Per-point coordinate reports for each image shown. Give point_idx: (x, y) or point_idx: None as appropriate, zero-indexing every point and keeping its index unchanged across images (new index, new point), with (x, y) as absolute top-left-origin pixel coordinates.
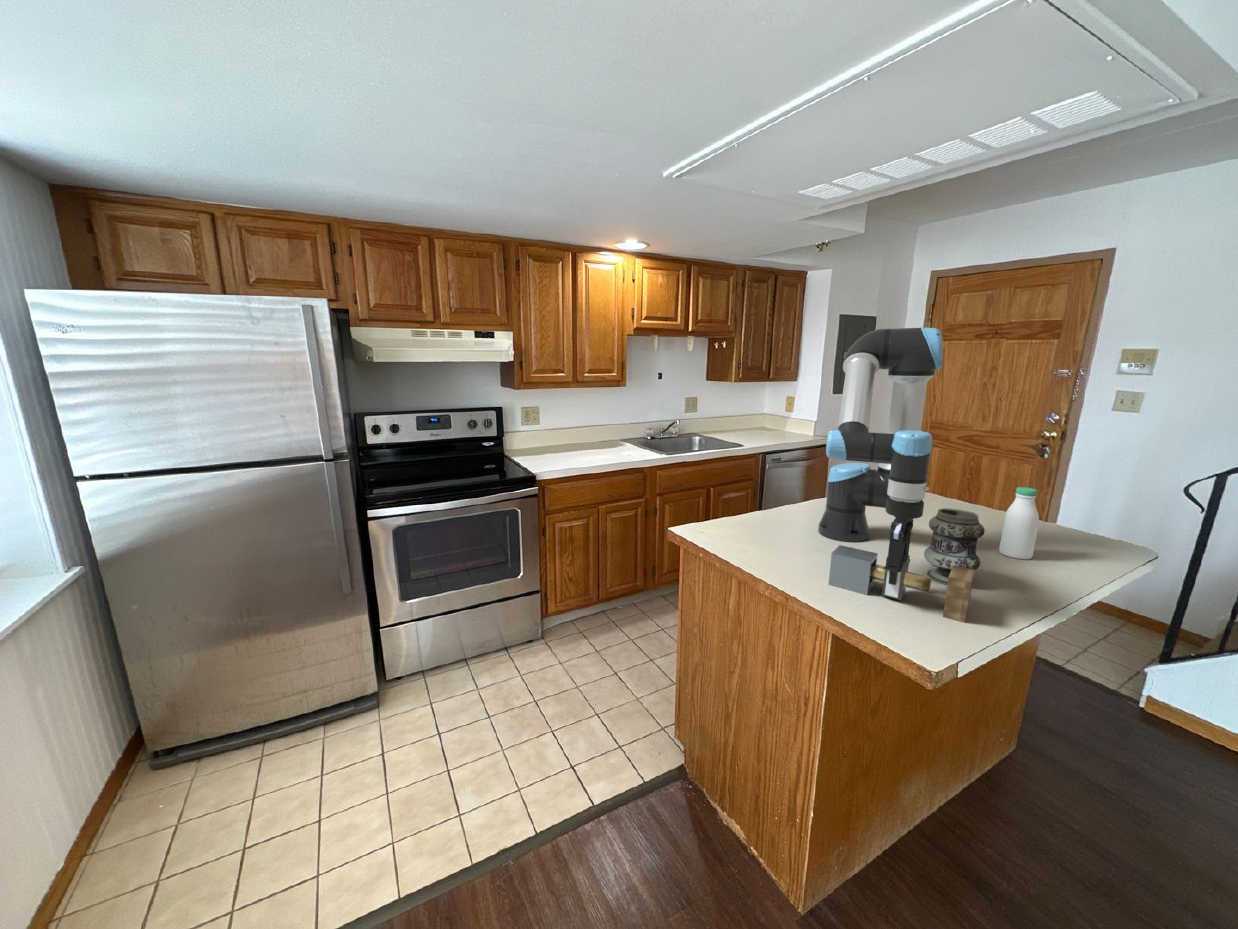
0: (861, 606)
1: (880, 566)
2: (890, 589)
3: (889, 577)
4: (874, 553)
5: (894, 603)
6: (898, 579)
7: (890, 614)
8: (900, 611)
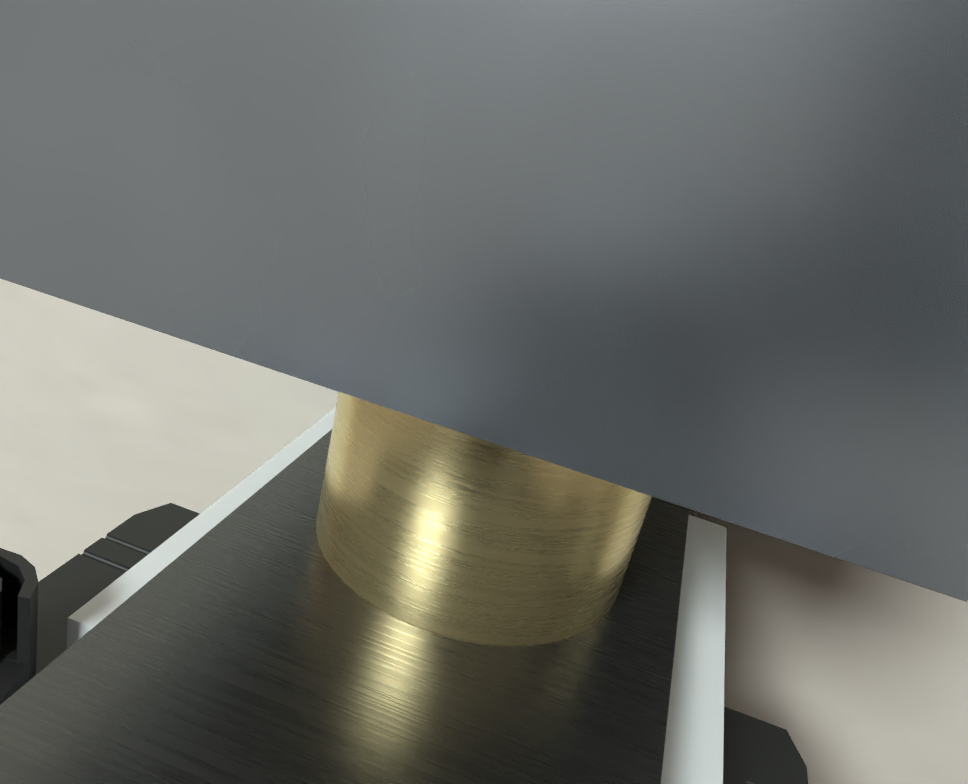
0: None
1: (419, 493)
2: None
3: (76, 561)
4: (921, 479)
5: None
6: None
7: (48, 393)
8: (166, 498)
